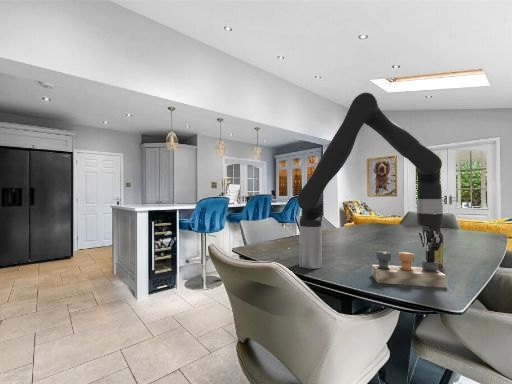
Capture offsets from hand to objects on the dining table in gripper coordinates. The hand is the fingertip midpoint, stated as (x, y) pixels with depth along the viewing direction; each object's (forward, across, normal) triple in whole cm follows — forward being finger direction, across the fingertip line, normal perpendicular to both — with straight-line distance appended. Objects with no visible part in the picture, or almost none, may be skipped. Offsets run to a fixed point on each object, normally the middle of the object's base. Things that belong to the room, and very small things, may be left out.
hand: (430, 261), depth 90 cm
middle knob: (+4, 0, -8) cm, 8 cm away
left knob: (+4, 0, -15) cm, 16 cm away
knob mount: (+7, 0, -8) cm, 10 cm away
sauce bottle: (+7, -24, +11) cm, 27 cm away
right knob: (+6, 0, 0) cm, 6 cm away
